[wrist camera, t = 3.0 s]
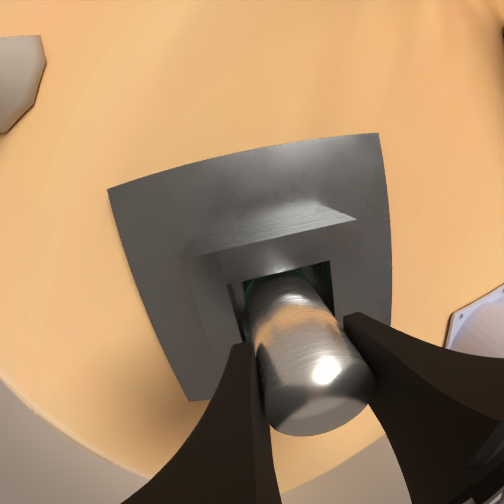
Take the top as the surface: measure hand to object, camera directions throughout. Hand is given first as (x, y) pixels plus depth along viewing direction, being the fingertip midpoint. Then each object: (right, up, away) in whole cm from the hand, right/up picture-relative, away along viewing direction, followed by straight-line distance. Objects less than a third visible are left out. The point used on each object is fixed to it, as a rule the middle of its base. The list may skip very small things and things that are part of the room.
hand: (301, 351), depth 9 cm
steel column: (-1, +1, +5) cm, 5 cm away
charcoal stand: (-1, +2, +6) cm, 6 cm away
